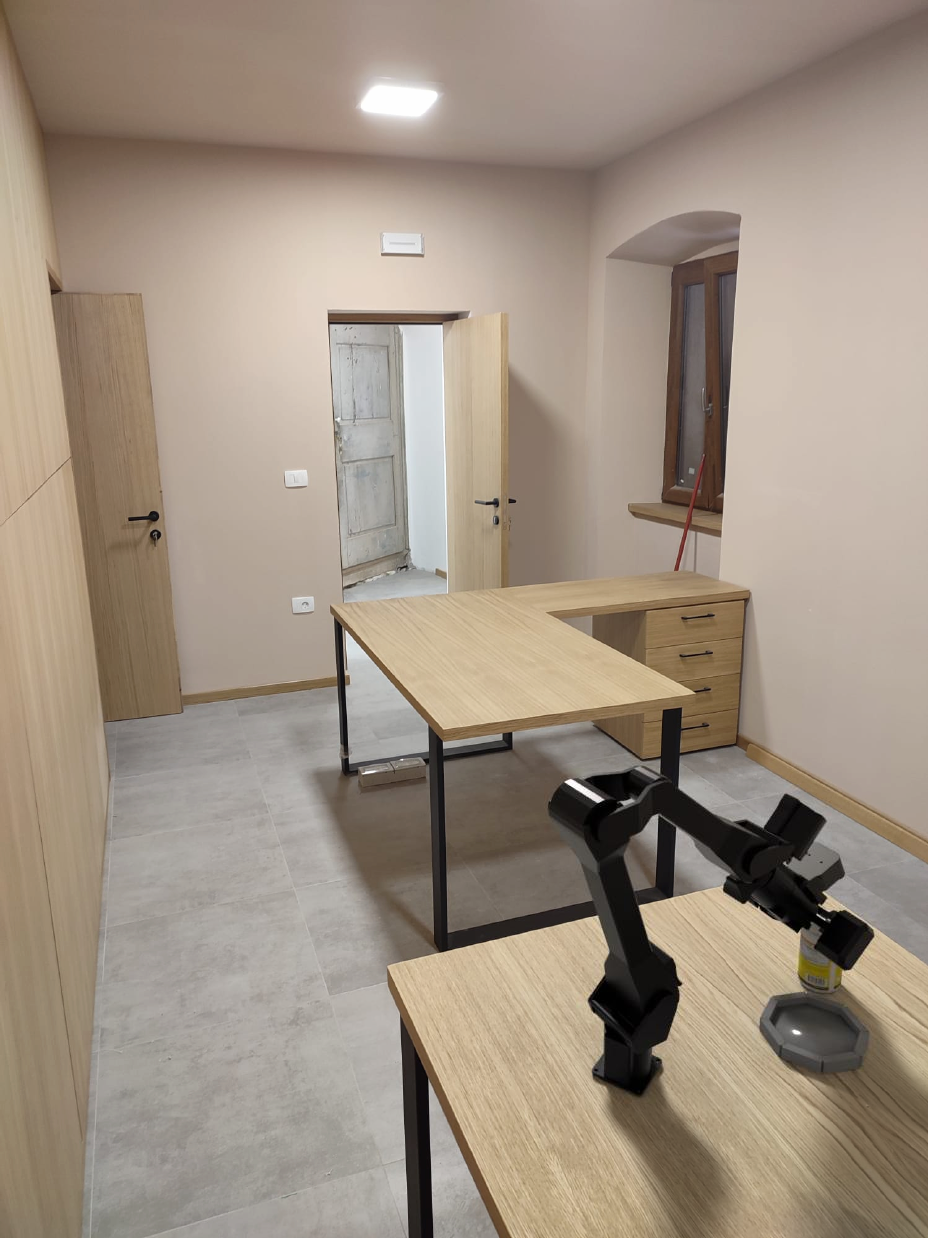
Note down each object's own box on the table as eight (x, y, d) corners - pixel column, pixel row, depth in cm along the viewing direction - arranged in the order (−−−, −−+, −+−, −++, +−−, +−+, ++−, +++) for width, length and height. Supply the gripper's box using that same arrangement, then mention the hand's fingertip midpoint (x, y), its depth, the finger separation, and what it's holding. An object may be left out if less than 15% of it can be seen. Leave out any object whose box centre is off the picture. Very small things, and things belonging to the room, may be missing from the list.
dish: (853, 1087, 100) (855, 1076, 100) (750, 1045, 107) (751, 1035, 107) (874, 1026, 110) (875, 1015, 109) (778, 991, 117) (778, 981, 116)
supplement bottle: (827, 967, 121) (833, 903, 119) (848, 993, 116) (855, 927, 113) (789, 970, 121) (794, 906, 118) (808, 997, 115) (814, 930, 113)
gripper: (870, 868, 103) (925, 925, 110) (757, 804, 119) (811, 857, 126) (816, 945, 101) (874, 997, 109) (709, 869, 118) (766, 919, 125)
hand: (830, 937), depth 117 cm, fingers closed on supplement bottle, 5 cm apart
